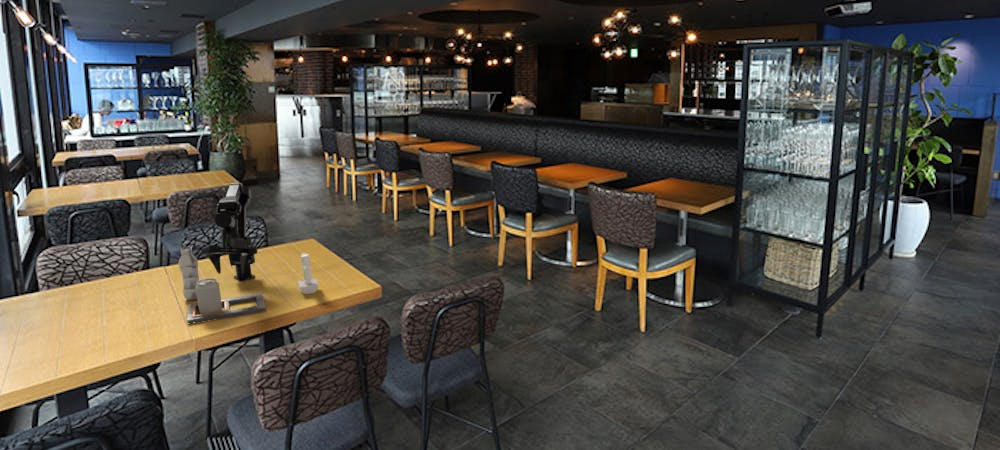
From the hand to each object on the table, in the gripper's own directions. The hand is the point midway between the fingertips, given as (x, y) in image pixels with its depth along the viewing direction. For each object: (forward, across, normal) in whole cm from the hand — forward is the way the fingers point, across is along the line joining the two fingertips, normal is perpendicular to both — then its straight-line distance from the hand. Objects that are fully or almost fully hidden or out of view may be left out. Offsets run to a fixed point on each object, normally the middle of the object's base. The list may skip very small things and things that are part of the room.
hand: (231, 273), depth 224 cm
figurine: (+9, +23, -14) cm, 29 cm away
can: (+14, -9, -1) cm, 17 cm away
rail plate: (+14, -4, -4) cm, 15 cm away
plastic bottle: (+8, -7, +15) cm, 18 cm away
